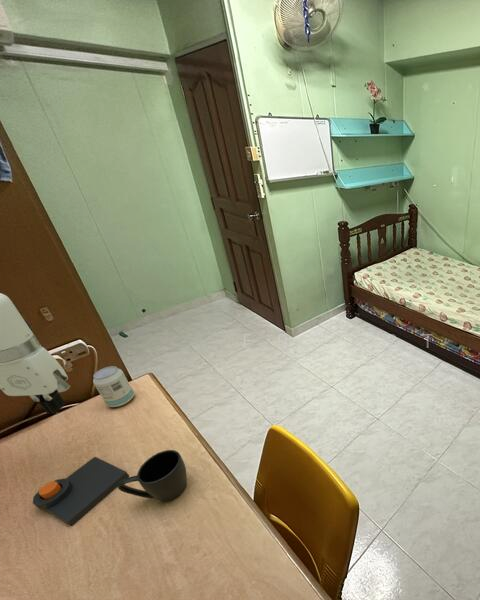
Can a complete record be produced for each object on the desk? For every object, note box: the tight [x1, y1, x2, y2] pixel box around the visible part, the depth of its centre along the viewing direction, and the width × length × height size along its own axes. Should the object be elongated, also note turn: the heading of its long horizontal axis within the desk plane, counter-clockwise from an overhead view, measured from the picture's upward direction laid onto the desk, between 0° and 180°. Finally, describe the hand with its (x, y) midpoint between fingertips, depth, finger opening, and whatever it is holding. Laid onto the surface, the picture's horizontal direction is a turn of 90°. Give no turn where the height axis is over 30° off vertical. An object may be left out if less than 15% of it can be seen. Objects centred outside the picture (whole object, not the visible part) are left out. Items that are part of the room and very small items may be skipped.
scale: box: [32, 456, 130, 527], centre depth 74 cm, size 12×12×4 cm
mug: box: [117, 449, 187, 503], centre depth 72 cm, size 8×12×10 cm
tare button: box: [38, 480, 61, 499], centre depth 71 cm, size 3×3×2 cm
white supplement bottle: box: [92, 365, 135, 408], centre depth 97 cm, size 7×7×12 cm
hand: (56, 408), depth 76 cm, fingers closed
